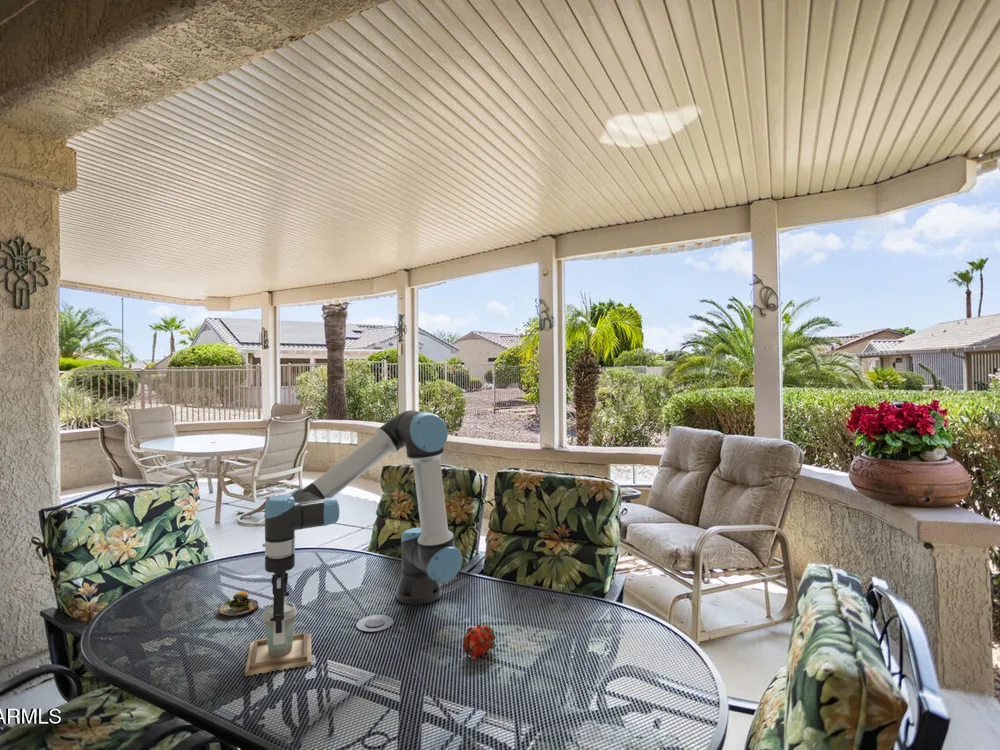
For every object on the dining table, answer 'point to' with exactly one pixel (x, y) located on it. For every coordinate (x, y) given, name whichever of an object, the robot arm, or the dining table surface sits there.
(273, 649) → the coffee cup
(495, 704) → the dining table surface
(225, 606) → the burger
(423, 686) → the dining table surface
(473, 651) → the dragon fruit
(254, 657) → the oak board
